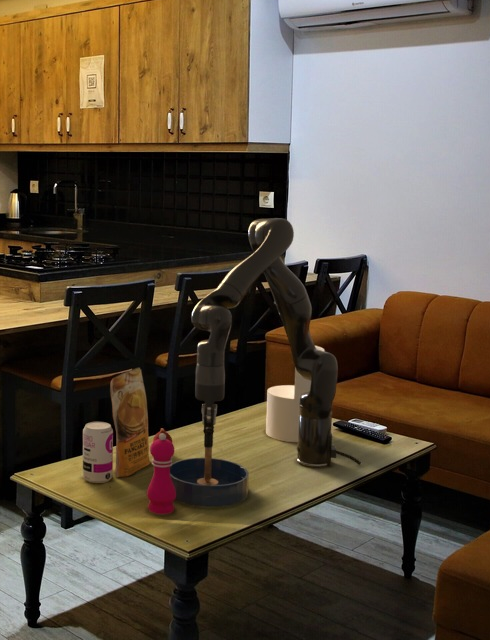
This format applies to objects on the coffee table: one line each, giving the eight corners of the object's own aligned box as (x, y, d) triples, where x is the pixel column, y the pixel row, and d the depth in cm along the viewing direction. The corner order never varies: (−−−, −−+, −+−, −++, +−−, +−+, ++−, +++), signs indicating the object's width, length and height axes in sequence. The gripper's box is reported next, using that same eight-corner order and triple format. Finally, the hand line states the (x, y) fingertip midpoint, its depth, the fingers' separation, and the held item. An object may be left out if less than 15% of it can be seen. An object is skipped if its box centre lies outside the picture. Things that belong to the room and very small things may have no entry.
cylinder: (320, 428, 290) (324, 344, 286) (320, 444, 273) (324, 355, 269) (267, 424, 293) (270, 341, 290) (264, 439, 277) (267, 352, 273)
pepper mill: (144, 505, 222) (146, 429, 220) (173, 505, 223) (174, 428, 220) (148, 517, 215) (149, 438, 213) (177, 516, 216) (179, 437, 213)
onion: (172, 451, 264) (173, 426, 263) (171, 458, 259) (172, 431, 258) (153, 451, 265) (153, 425, 264) (152, 457, 259) (152, 430, 258)
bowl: (247, 481, 241) (247, 460, 240) (248, 511, 220) (249, 488, 219) (169, 476, 243) (169, 455, 243) (163, 506, 222) (164, 483, 222)
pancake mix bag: (101, 476, 243) (101, 377, 240) (138, 457, 259) (139, 364, 255) (121, 481, 239) (122, 380, 236) (158, 462, 255) (159, 367, 251)
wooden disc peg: (218, 487, 234) (219, 424, 232) (218, 494, 228) (219, 430, 226) (197, 485, 235) (198, 423, 232) (196, 493, 229) (197, 429, 227)
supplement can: (116, 475, 244) (117, 422, 242) (106, 485, 236) (107, 431, 234) (89, 471, 246) (89, 419, 245) (78, 481, 239) (78, 428, 237)
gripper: (224, 388, 220) (222, 454, 223) (224, 375, 234) (223, 438, 236) (194, 386, 221) (192, 453, 224) (196, 373, 235) (195, 436, 237)
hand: (208, 445), depth 230 cm, fingers closed on wooden disc peg
